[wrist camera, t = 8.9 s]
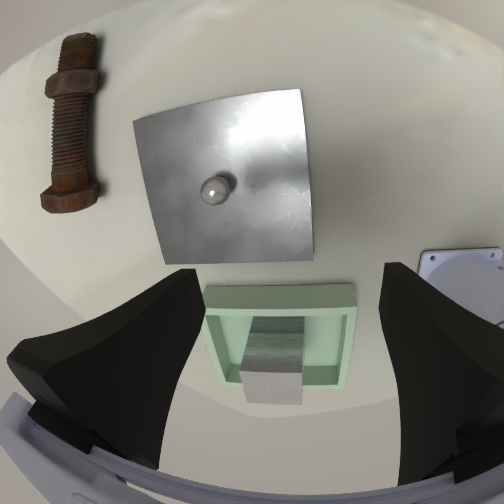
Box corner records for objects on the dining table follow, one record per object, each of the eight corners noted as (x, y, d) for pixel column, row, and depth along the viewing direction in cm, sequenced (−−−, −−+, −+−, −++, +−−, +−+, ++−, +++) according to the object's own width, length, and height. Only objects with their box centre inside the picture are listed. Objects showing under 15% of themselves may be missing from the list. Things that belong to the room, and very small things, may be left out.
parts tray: (352, 283, 21) (357, 306, 19) (342, 364, 26) (344, 388, 23) (206, 286, 24) (194, 307, 21) (227, 363, 28) (220, 385, 26)
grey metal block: (304, 348, 25) (301, 404, 19) (259, 348, 26) (247, 402, 20) (304, 314, 23) (301, 373, 17) (254, 314, 24) (238, 370, 18)
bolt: (112, 41, 16) (101, 193, 23) (63, 48, 15) (56, 196, 21) (103, 23, 12) (90, 213, 18) (43, 33, 10) (36, 218, 16)
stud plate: (300, 90, 15) (299, 84, 13) (313, 254, 21) (313, 276, 18) (139, 120, 18) (114, 123, 15) (170, 258, 23) (153, 278, 20)
